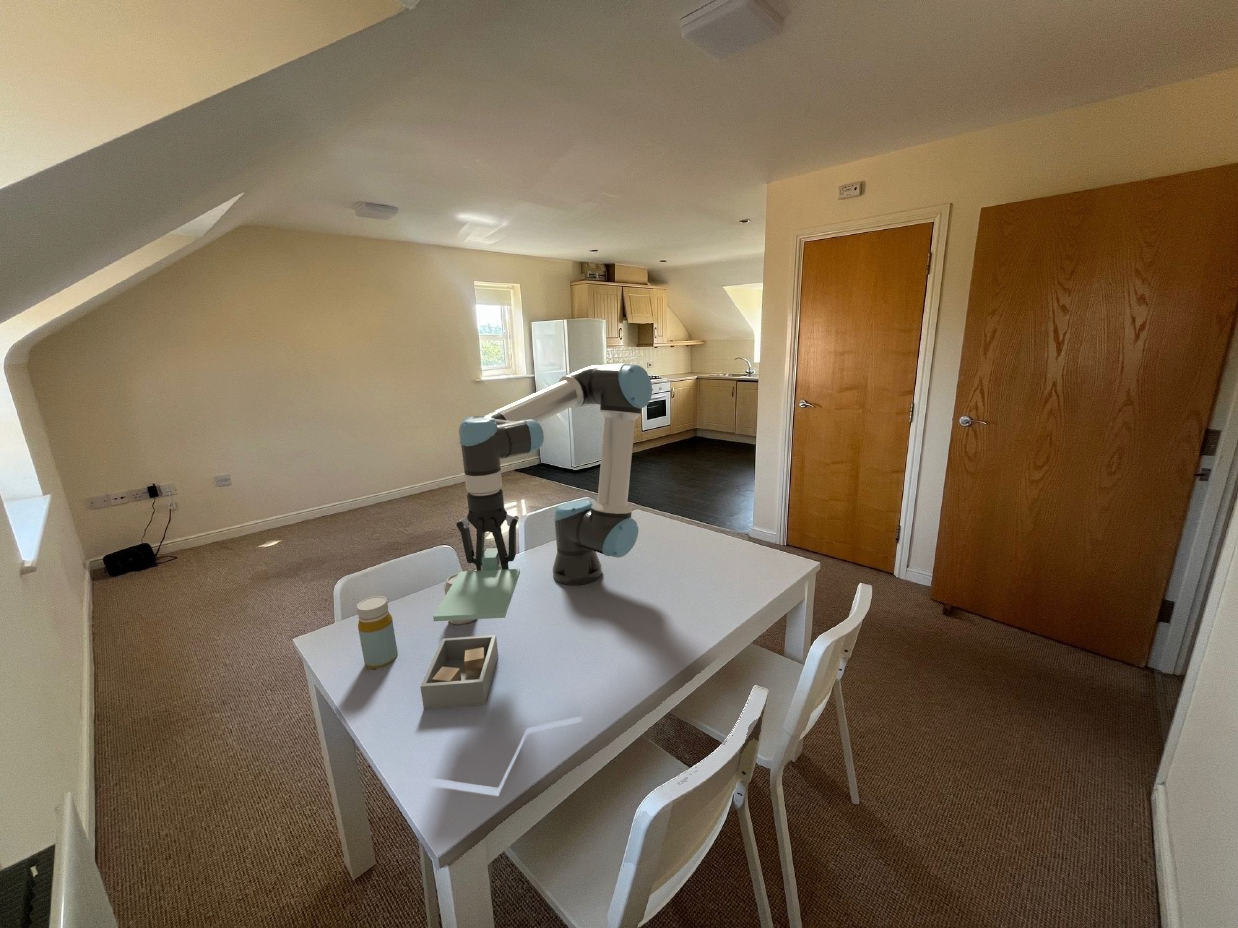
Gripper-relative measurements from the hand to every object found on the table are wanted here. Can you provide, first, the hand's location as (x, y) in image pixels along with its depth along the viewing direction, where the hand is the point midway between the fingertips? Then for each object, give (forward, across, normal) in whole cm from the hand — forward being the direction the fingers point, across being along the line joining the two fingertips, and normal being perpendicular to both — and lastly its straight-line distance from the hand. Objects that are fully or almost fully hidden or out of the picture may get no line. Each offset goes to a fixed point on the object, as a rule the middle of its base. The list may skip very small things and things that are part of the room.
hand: (494, 589), depth 112 cm
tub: (+17, +6, +10) cm, 20 cm away
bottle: (+17, +27, +1) cm, 32 cm away
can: (+17, +13, -16) cm, 26 cm away
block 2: (+16, +4, +7) cm, 18 cm away
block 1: (+16, +8, +13) cm, 22 cm away
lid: (-2, 0, +9) cm, 9 cm away
